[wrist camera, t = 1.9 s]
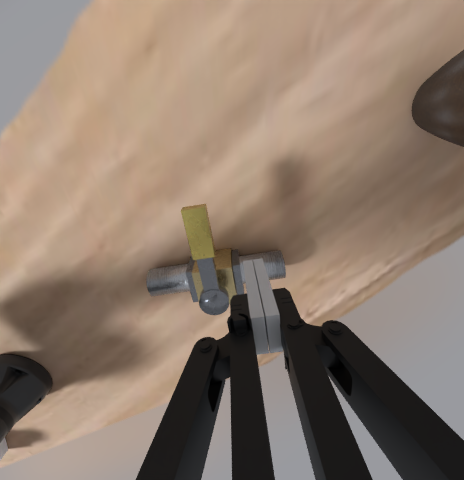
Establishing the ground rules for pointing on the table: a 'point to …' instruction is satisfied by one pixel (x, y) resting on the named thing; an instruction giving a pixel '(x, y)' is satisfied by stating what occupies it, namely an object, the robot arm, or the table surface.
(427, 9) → the table surface
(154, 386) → the table surface
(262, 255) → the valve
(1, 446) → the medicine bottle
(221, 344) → the robot arm
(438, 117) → the plant pot
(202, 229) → the lever
